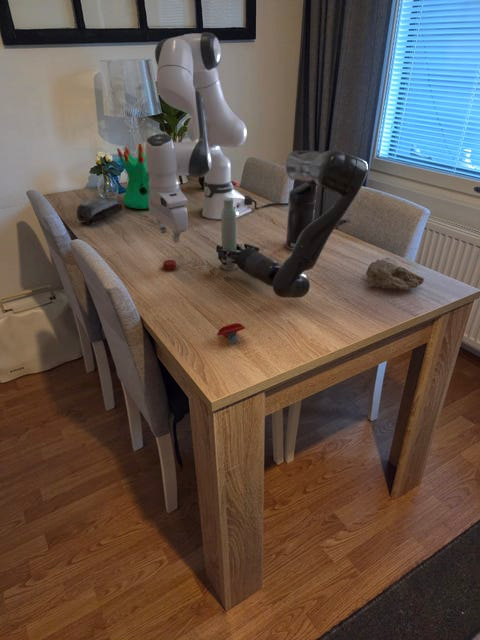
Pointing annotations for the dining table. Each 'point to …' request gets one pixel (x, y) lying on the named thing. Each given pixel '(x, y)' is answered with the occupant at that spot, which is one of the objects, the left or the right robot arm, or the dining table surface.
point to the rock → (98, 210)
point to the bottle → (228, 229)
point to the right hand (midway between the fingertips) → (224, 246)
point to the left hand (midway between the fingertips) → (169, 237)
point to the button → (231, 331)
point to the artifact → (391, 275)
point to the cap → (169, 265)
